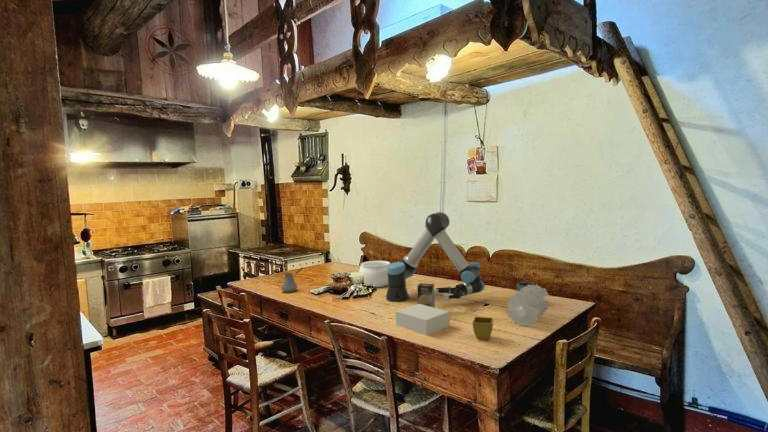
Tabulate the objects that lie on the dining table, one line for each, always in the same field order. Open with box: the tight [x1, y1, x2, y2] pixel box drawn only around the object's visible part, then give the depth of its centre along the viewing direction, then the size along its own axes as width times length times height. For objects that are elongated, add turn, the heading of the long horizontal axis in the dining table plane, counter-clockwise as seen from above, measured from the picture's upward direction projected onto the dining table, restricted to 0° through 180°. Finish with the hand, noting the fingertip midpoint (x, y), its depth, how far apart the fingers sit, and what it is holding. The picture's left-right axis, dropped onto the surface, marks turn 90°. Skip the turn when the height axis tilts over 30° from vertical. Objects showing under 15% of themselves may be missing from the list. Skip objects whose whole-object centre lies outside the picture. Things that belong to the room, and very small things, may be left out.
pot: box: [358, 260, 391, 288], centre depth 308 cm, size 29×26×16 cm
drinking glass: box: [516, 281, 535, 292], centre depth 246 cm, size 10×10×12 cm
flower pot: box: [472, 316, 494, 341], centre depth 193 cm, size 9×9×9 cm
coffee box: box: [417, 282, 436, 308], centre depth 237 cm, size 9×6×16 cm
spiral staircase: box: [505, 283, 549, 328], centre depth 214 cm, size 18×18×25 cm
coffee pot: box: [281, 267, 304, 293], centre depth 301 cm, size 21×12×15 cm, turn 148°
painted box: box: [395, 303, 450, 336], centre depth 214 cm, size 22×18×8 cm
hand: (436, 295), depth 240 cm, fingers open, 13 cm apart
